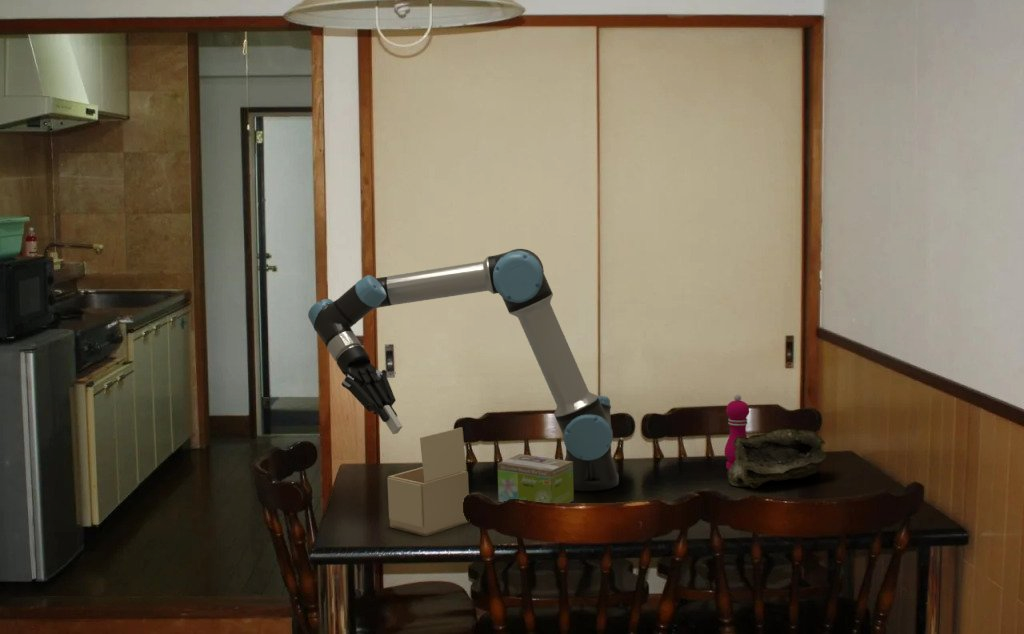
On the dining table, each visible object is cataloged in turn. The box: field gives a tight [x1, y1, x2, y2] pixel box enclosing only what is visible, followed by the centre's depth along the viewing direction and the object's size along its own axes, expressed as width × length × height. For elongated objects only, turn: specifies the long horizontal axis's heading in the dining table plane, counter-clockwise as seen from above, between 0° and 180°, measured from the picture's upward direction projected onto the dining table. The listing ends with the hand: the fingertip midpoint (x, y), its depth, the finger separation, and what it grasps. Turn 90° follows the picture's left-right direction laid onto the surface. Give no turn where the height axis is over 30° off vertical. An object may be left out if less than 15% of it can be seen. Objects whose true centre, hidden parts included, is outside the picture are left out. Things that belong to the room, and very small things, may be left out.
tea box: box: [497, 453, 575, 504], centre depth 279 cm, size 15×10×15 cm
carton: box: [386, 466, 470, 537], centre depth 281 cm, size 15×13×12 cm
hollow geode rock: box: [727, 427, 828, 489], centre depth 310 cm, size 28×13×15 cm
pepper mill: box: [723, 394, 750, 471], centre depth 323 cm, size 7×7×20 cm
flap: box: [419, 426, 467, 482], centre depth 275 cm, size 13×1×10 cm, turn 137°
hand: (397, 430), depth 285 cm, fingers closed
